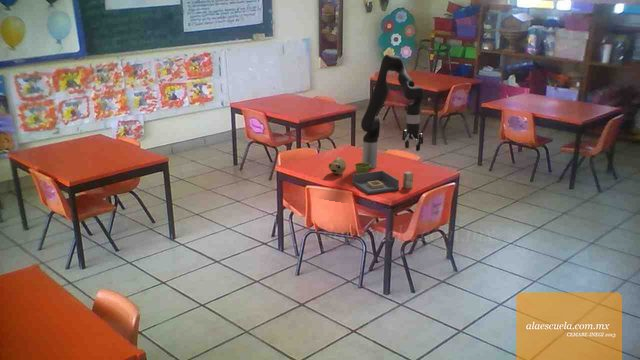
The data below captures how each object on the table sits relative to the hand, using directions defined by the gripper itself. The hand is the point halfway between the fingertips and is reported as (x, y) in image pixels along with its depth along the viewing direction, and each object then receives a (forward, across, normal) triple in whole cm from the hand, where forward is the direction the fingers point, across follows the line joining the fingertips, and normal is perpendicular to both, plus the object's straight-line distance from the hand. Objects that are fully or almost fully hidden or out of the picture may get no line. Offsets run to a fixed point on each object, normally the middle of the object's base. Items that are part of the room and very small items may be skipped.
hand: (412, 149), depth 344 cm
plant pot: (+22, +29, +13) cm, 38 cm away
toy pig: (+22, +44, +21) cm, 53 cm away
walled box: (+22, +12, +17) cm, 31 cm away
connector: (+23, 0, +3) cm, 23 cm away
